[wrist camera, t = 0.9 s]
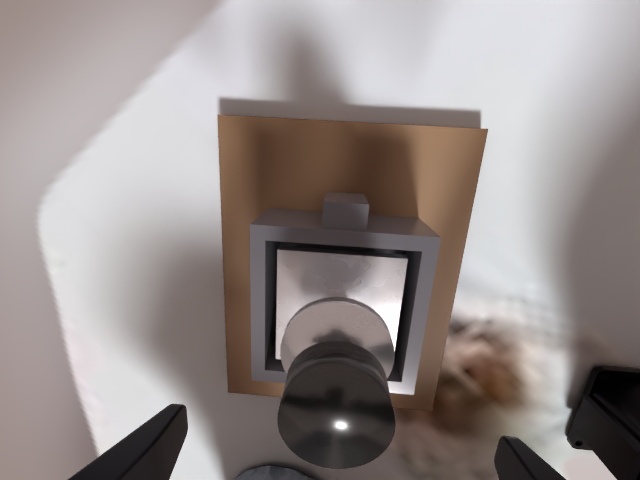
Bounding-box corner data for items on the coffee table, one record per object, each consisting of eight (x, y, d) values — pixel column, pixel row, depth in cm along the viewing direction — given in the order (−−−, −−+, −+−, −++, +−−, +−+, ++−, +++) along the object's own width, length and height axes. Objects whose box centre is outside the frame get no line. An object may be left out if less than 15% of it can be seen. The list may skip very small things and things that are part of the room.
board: (481, 129, 16) (488, 129, 16) (428, 401, 22) (432, 411, 21) (223, 116, 17) (217, 114, 16) (231, 383, 22) (228, 392, 22)
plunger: (405, 254, 15) (460, 344, 8) (390, 361, 16) (424, 509, 10) (279, 245, 15) (230, 325, 8) (277, 351, 17) (236, 488, 10)
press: (421, 196, 17) (445, 210, 13) (399, 346, 20) (413, 394, 16) (269, 186, 17) (249, 197, 13) (268, 335, 20) (251, 380, 16)
